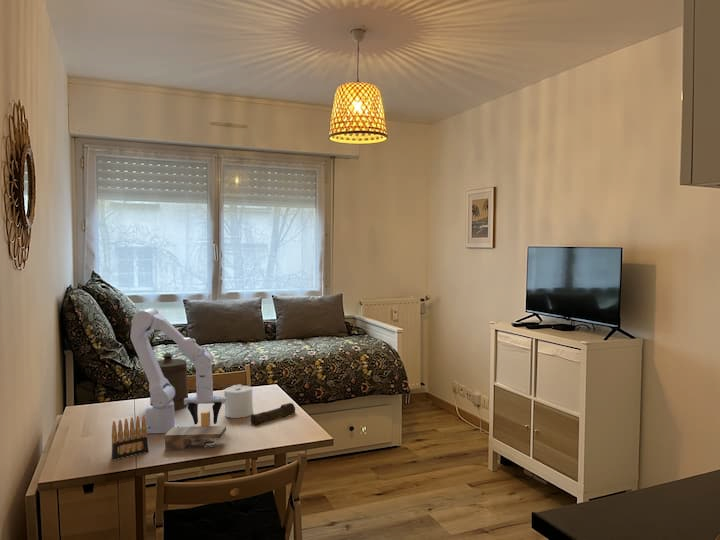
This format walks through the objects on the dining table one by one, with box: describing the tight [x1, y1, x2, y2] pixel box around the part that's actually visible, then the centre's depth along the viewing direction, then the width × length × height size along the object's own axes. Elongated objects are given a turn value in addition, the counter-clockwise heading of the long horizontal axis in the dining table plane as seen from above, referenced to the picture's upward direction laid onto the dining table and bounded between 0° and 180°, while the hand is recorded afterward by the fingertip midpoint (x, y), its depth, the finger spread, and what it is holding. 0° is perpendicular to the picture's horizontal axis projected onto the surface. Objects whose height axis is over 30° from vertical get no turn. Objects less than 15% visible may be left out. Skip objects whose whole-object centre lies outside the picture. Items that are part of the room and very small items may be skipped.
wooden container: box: [149, 352, 189, 411], centre depth 228 cm, size 15×15×22 cm
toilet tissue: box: [223, 383, 254, 419], centre depth 216 cm, size 11×12×10 cm
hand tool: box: [250, 402, 296, 426], centre depth 208 cm, size 19×4×5 cm, turn 130°
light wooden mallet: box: [193, 410, 211, 441], centre depth 194 cm, size 3×13×6 cm, turn 1°
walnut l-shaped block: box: [164, 425, 227, 451], centre depth 183 cm, size 18×8×5 cm, turn 91°
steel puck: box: [203, 439, 217, 448], centre depth 183 cm, size 4×4×2 cm
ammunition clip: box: [111, 414, 149, 461], centre depth 175 cm, size 11×2×12 cm, turn 125°
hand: (205, 423), depth 199 cm, fingers open, 6 cm apart
